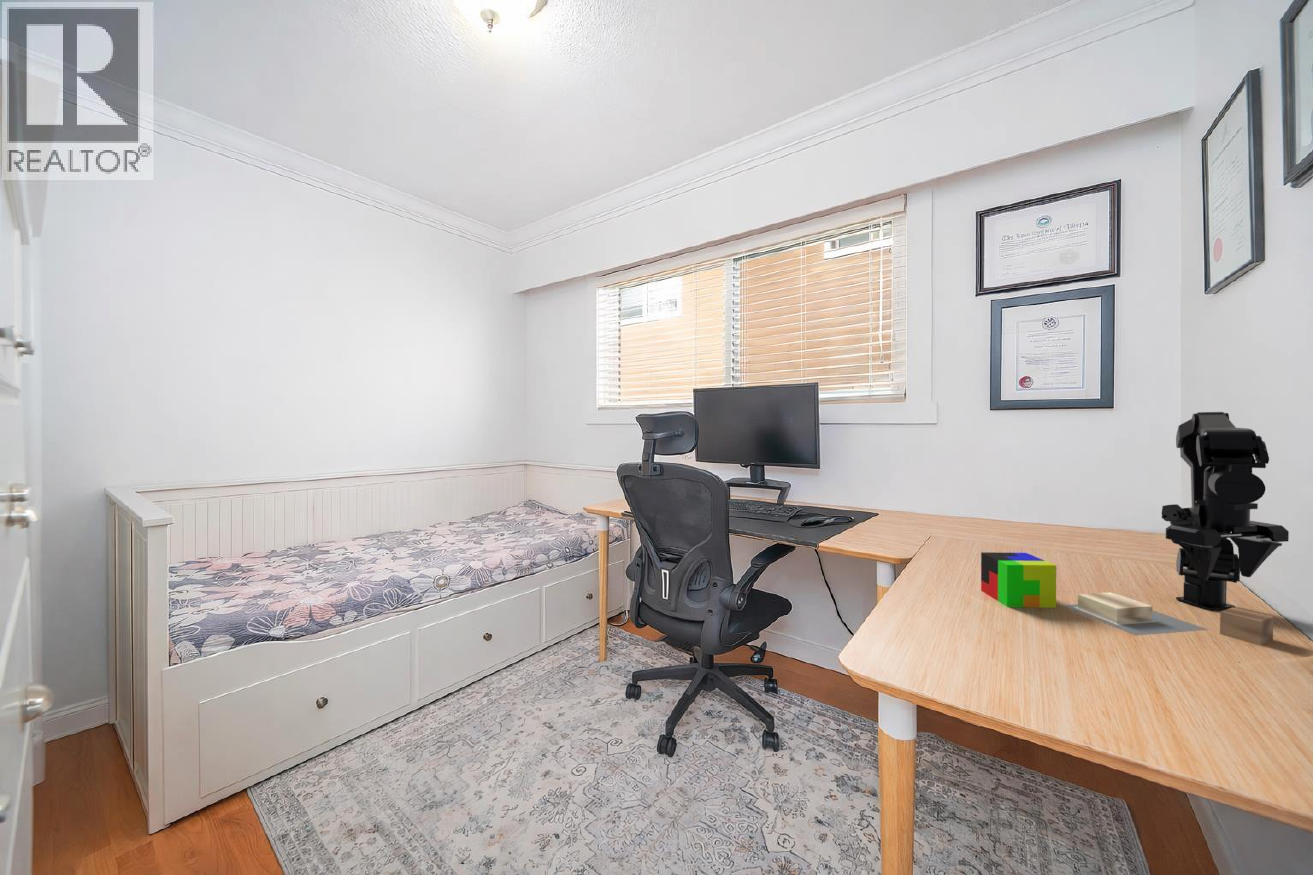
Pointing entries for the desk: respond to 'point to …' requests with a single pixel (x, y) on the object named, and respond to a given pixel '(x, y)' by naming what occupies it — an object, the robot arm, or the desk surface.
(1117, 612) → the maple slab
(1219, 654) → the desk surface
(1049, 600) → the puzzle toy
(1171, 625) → the build mat
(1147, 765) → the desk surface
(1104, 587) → the desk surface
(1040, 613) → the desk surface
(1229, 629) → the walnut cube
